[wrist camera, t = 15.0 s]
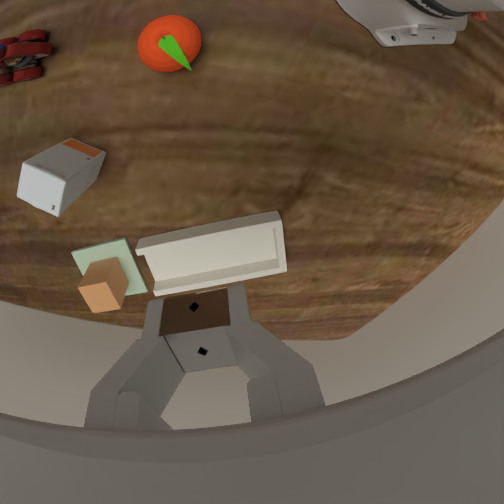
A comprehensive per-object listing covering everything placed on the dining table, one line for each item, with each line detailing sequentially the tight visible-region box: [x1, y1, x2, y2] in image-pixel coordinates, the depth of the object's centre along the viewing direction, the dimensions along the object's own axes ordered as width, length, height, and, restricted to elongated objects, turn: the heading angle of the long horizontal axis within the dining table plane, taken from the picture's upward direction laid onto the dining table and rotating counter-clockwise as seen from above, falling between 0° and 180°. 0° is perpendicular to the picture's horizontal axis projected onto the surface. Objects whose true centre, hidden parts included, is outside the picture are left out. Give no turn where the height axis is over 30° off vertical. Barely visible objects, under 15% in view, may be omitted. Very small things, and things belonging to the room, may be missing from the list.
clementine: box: [137, 15, 202, 72], centre depth 23 cm, size 8×7×7 cm
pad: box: [71, 237, 148, 296], centre depth 41 cm, size 10×10×1 cm
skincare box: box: [17, 138, 106, 217], centre depth 27 cm, size 6×4×12 cm
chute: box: [135, 210, 287, 296], centre depth 41 cm, size 20×8×3 cm, turn 99°
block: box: [78, 257, 129, 313], centre depth 38 cm, size 5×5×6 cm
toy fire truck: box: [0, 30, 52, 87], centre depth 17 cm, size 7×12×10 cm, turn 80°
